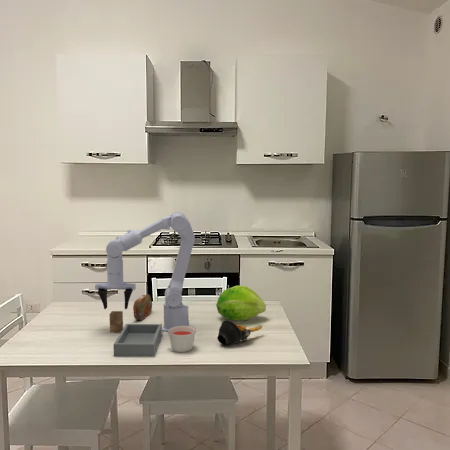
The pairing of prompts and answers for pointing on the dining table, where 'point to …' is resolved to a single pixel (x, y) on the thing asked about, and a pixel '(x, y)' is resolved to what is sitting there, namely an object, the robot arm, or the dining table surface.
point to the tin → (142, 307)
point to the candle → (181, 338)
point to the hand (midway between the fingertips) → (115, 308)
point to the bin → (138, 340)
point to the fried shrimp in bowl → (234, 333)
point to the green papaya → (240, 303)
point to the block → (116, 321)
